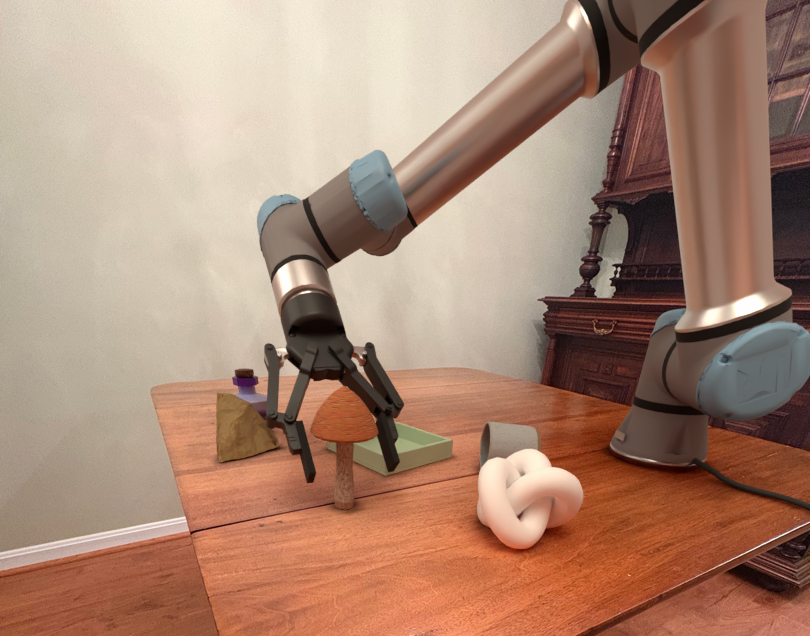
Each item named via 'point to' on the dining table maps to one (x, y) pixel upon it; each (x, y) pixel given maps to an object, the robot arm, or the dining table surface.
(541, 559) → the dining table surface
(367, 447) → the tray
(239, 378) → the potion bottle
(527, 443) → the ceramic mug
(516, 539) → the white knot sculpture
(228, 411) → the rock
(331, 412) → the mushroom
